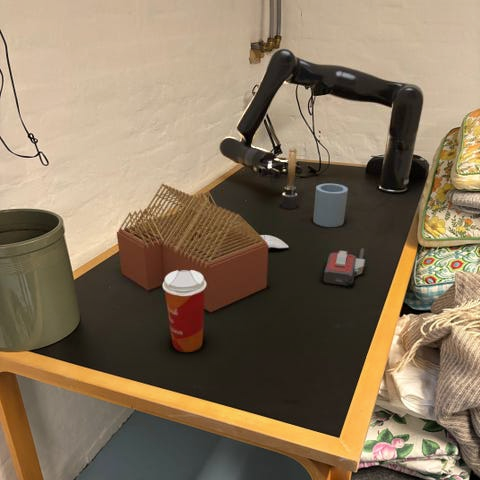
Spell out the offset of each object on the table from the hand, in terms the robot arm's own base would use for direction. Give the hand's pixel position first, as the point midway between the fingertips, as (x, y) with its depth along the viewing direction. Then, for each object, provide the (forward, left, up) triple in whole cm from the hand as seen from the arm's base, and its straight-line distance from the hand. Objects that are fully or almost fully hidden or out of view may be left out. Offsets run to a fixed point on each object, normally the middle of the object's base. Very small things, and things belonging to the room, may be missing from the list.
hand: (290, 173), depth 154 cm
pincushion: (+34, -2, -11) cm, 35 cm away
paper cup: (+80, -9, -11) cm, 82 cm away
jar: (+10, +13, -11) cm, 20 cm away
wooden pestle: (0, 0, -11) cm, 11 cm away
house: (+55, -15, -11) cm, 57 cm away
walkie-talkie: (+42, +19, -11) cm, 47 cm away
